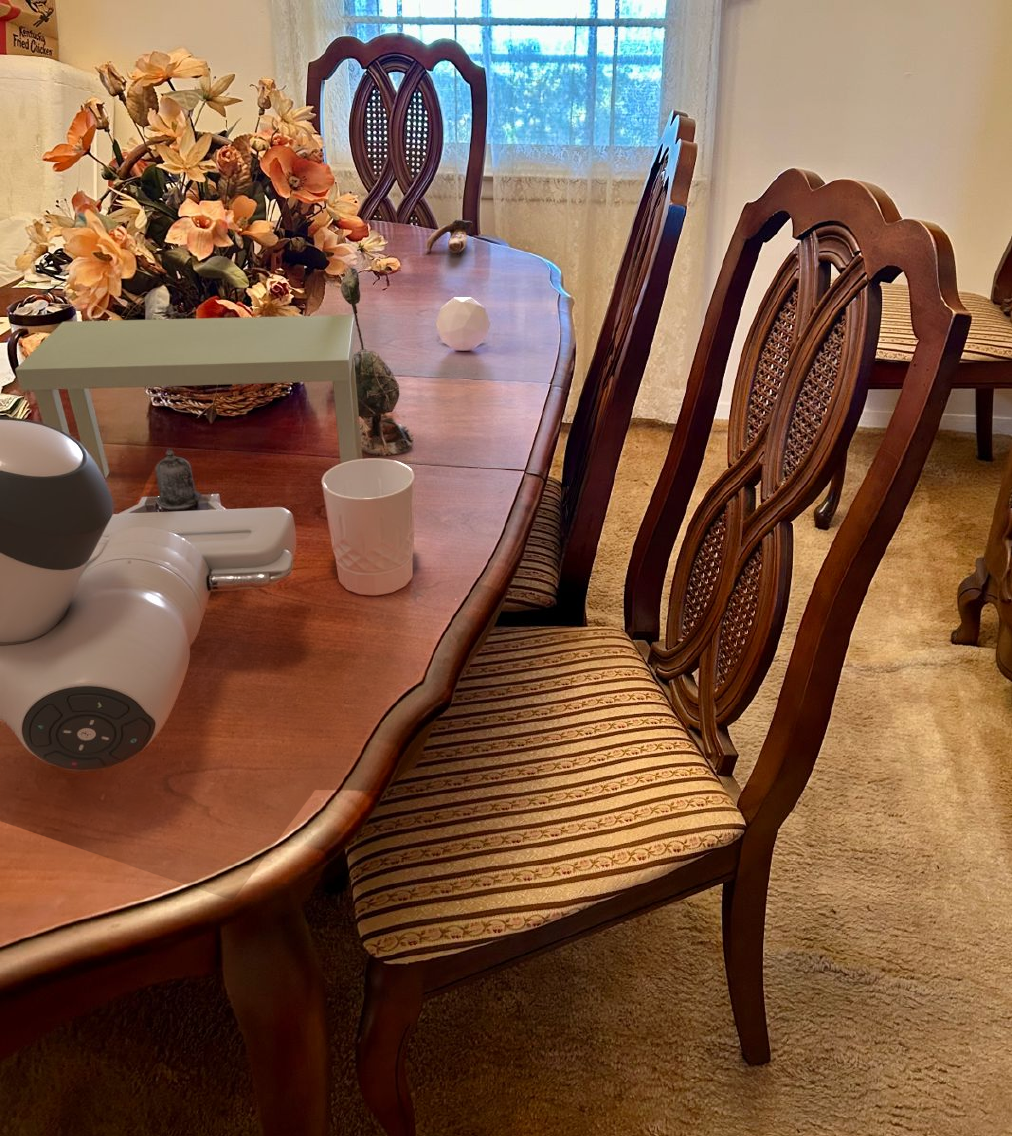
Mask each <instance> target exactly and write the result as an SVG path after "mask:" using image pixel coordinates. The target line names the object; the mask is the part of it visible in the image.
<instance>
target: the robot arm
mask: <svg viewBox="0 0 1012 1136" xmlns="http://www.w3.org/2000/svg"><path fill="white" fill-rule="evenodd" d="M200 495H201V498H200V499H199V501H198V505H199V509H200V510H198V511H175V512H163V511H162V507H160V506H158V504H157V499H158V497H159V496H141V498H140V500H139V502H138V504H135V505H133V506H130V507H129V508H127V509H125V510H123V511H120V512H119V513H114V511H115V510H114V508H115V507H114V506H115V505H114V500H113V496H112V494H111V490H110V488H109V486H108V483H107V481H106V479H104V477H103V475H102V473H101V471H100V469H99V468H98V466H97V464H96V463H95V461H94V460H93V459H92V457H91V456H90V454H89V453H88V452H87V451H86V449H85V448H84V447H83V446H82V444H81V442H79V441H78V440H77V439H76V438H75V437H73V436H72V435H71V434H70V435H68V434H67V433H65V432H63V431H61V430H59V429H57V428H54V427H52V426H49V425H46V424H43V422H39V421H34V420H30V419H25V418H20V417H11V416H2V415H1V416H0V720H1V721H2V722H3V723H5V724H6V726H8V727H9V728H10V729H11V730H12V732H13V733H14V735H15V736H16V737H17V739H18V741H19V742H20V743H21V744H22V746H23V747H24V748H25V749H26V750H27V751H28V752H29V753H30V754H31V755H33V756H34V757H36V758H37V759H39V760H41V761H42V762H45V763H47V764H49V765H52V766H55V767H58V768H61V769H66V770H70V771H71V770H72V771H96V770H102V769H107V768H110V767H113V766H117V765H119V764H121V763H124V762H126V761H127V760H129V759H131V758H133V757H135V756H136V755H139V753H140V752H142V751H143V750H145V748H146V747H148V746H149V745H150V744H151V742H152V741H153V740H154V739H155V738H156V737H157V735H158V734H159V733H160V731H161V730H162V729H163V727H164V725H165V724H166V723H167V720H168V719H169V717H170V715H171V712H172V711H173V709H174V707H175V704H176V701H177V699H178V697H179V695H180V692H181V689H182V687H183V684H184V680H185V677H186V674H187V671H188V668H189V664H190V659H191V646H192V645H193V644H194V642H195V641H196V638H197V637H198V634H199V633H200V630H201V625H202V622H203V619H204V615H205V613H206V609H207V606H208V603H209V599H210V597H211V592H225V591H227V592H228V591H229V592H230V591H245V590H258V589H260V590H261V589H265V588H266V589H267V588H269V587H272V586H274V585H276V584H277V583H279V582H280V581H281V580H283V579H284V580H285V579H288V578H289V577H290V576H291V575H292V572H293V569H294V563H295V559H294V556H295V553H296V549H297V543H298V542H297V532H296V524H295V518H294V514H293V513H292V512H291V511H290V510H288V509H287V508H285V507H282V506H272V507H271V506H270V507H249V508H225V507H224V506H223V505H222V503H221V497H220V494H219V493H207V494H200Z"/></svg>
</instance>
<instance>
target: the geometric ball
mask: <svg viewBox="0 0 1012 1136" xmlns="http://www.w3.org/2000/svg"><path fill="white" fill-rule="evenodd" d="M490 322H491V321H490V319H489V316H488V314H487V310H486V308H485V306H484V305H482V304H481V303H479V302H478V301H477V300H475V299H474V298H472V297H470V296H469V297H467V296H466V297H464V296H463V297H461V296H459V297H456V296H455V297H452V298H451V299H450V300H449V301H447V302H446V303H445V304H443V305H442V306H441V307H440V308H439V311H438V315H437V319H436V321H435V326H436V329H437V332H438V335H439V338H440V341H441V342H442V343H444V344H445V345H446V346H448V347H450V348H451V349H452V350H454V351H473V350H475V349H476V348H477V347H478V346H479V345H481V344H482V343H484V342H485V341H486V338H487V336H488V332H489V329H490V326H491V323H490Z"/></svg>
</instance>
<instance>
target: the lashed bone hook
mask: <svg viewBox="0 0 1012 1136" xmlns="http://www.w3.org/2000/svg"><path fill="white" fill-rule="evenodd" d="M473 226H474V223H473V222H472V221H471V220H463V219H455V220H453V221H452V222H451V223H447V224H445V225H443V226H442V227H439V228H438V229H436V230H435V231H434V232H433V233H432V234H431V235H430V236H429V238H428V239H427V242H426V251H427V253H428V254H429V253H431V251H432V249H433V247H434V244H435V243H436V242H437V241H438V240H439V239H440V238H441V237H442V236H444V235H445V234H447V233H449V234H450V236H449V239H448V242H447V247H448V249H449V251H450V252H451V253H454V254H455V253H456V254H459V253H461V252H462V251H463V250H464V249H465V248H466V246H467V244H468V234H469V232H470V228H473Z"/></svg>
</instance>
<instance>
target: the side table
mask: <svg viewBox="0 0 1012 1136" xmlns="http://www.w3.org/2000/svg"><path fill="white" fill-rule="evenodd" d="M355 325H356V322H355V315H354V314H338V315H337V314H335V315H334V314H331V315H329V314H328V315H327V314H326V315H325V314H324V315H290V316H289V315H288V316H287V315H286V316H284V315H283V316H246V317H242V316H241V317H206V318H205V317H204V318H201V317H199V318H166V319H165V318H163V319H159V318H158V319H123V320H122V319H121V320H119V319H118V320H116V319H115V320H81V321H80V320H79V321H78V320H77V321H62V322H61V323H60V324H59V325H57V327H56V328H55V329H54V330H52V332H51V333H50V334H49V335H48V336H47V337H46V338H45V339H44V340H43V341H42V342H41V343H40V344H39V345H38V346H37V347H36V348H35V349H34V350H33V351H32V352H31V353H30V354H29V355H28V356H27V357H26V358H24V360H23V361H22V362H21V363H19V364H18V366H17V367H16V368H15V370H14V371H15V374H16V378H17V382H18V385H19V389H20V391H33V392H34V396H35V401H36V403H37V408H38V412H39V414H40V418H41V421H42V422H41V423H43V424H46V425H49V426H52V427H54V428H57V429H59V430H61V431H63V432H65V433H67V434H68V435H70V436H71V433H70V429H69V426H68V421H67V418H66V413H65V410H64V406H63V403H62V399H61V395H60V391H59V390H67V394H68V397H69V401H70V404H71V409H72V413H73V417H74V420H75V424H76V428H77V433H78V436H79V440H80V444H81V445H82V446H83V447H84V448H85V449H86V451H87V452H88V453H89V454H90V456H91V457H92V459H93V460H94V461H95V463H96V464H97V466H98V468H99V469H100V471H101V473H102V475H103V477H104V479H105V480H106V479H107V477H108V476H109V474H110V470H109V465H108V460H107V457H106V453H105V449H104V445H103V440H102V436H101V432H100V427H99V424H98V420H97V416H96V412H95V407H94V403H93V400H92V395H91V391H90V390H91V389H116V388H117V389H118V388H119V389H121V388H151V387H152V388H154V387H157V388H158V387H183V386H184V387H185V386H186V387H187V386H215V385H216V386H218V385H222V386H223V385H249V384H250V385H251V384H253V385H254V384H283V383H285V384H287V383H317V382H319V383H320V382H321V383H322V382H332V390H333V400H334V402H333V403H334V412H335V420H336V421H335V422H336V423H335V424H336V432H337V443H338V453H339V464H341V463H344V462H348V461H352V460H358V459H363V451H362V447H361V435H360V425H361V423H360V416H359V411H358V399H357V387H356V375H355V362H354V354H355V353H354V352H355V350H354V348H355V341H356V326H355Z"/></svg>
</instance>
